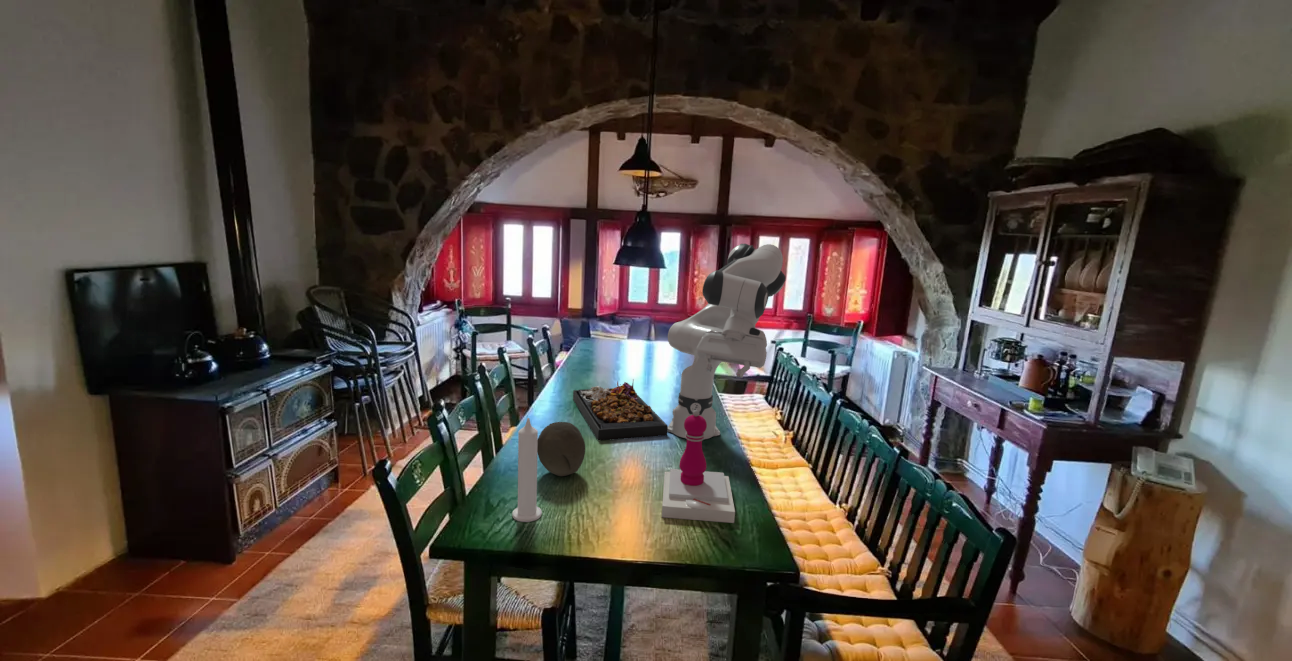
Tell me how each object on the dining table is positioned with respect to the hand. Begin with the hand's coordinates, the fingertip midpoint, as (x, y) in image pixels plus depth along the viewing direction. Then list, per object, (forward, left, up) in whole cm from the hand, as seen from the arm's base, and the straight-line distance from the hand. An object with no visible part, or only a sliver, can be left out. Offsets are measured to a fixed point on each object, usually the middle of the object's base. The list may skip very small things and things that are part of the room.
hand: (723, 373), depth 157 cm
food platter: (-47, -35, -32) cm, 66 cm away
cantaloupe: (+5, -45, -32) cm, 55 cm away
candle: (+29, -48, -32) cm, 64 cm away
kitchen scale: (+15, -6, -31) cm, 35 cm away
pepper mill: (+13, -7, -27) cm, 31 cm away
